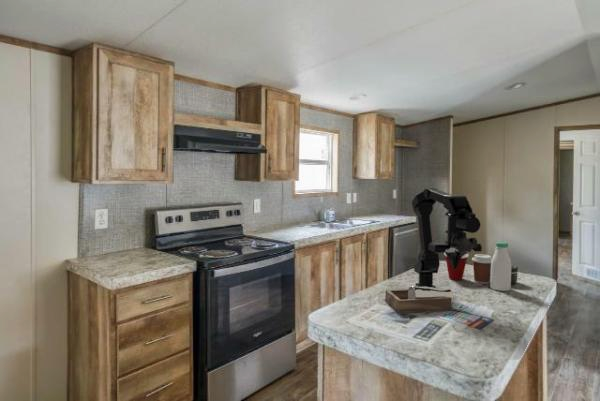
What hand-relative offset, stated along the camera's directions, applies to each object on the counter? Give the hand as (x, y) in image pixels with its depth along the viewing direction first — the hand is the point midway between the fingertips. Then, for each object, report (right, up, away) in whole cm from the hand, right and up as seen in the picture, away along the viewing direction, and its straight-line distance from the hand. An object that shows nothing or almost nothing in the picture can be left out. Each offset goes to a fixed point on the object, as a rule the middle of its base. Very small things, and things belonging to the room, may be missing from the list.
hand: (454, 269), depth 142 cm
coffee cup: (+24, -11, +28) cm, 39 cm away
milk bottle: (+27, -12, +18) cm, 34 cm away
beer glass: (-3, -10, -2) cm, 10 cm away
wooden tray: (-15, -13, -3) cm, 20 cm away
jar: (+35, -11, +28) cm, 46 cm away
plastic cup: (+14, -11, +33) cm, 38 cm away
